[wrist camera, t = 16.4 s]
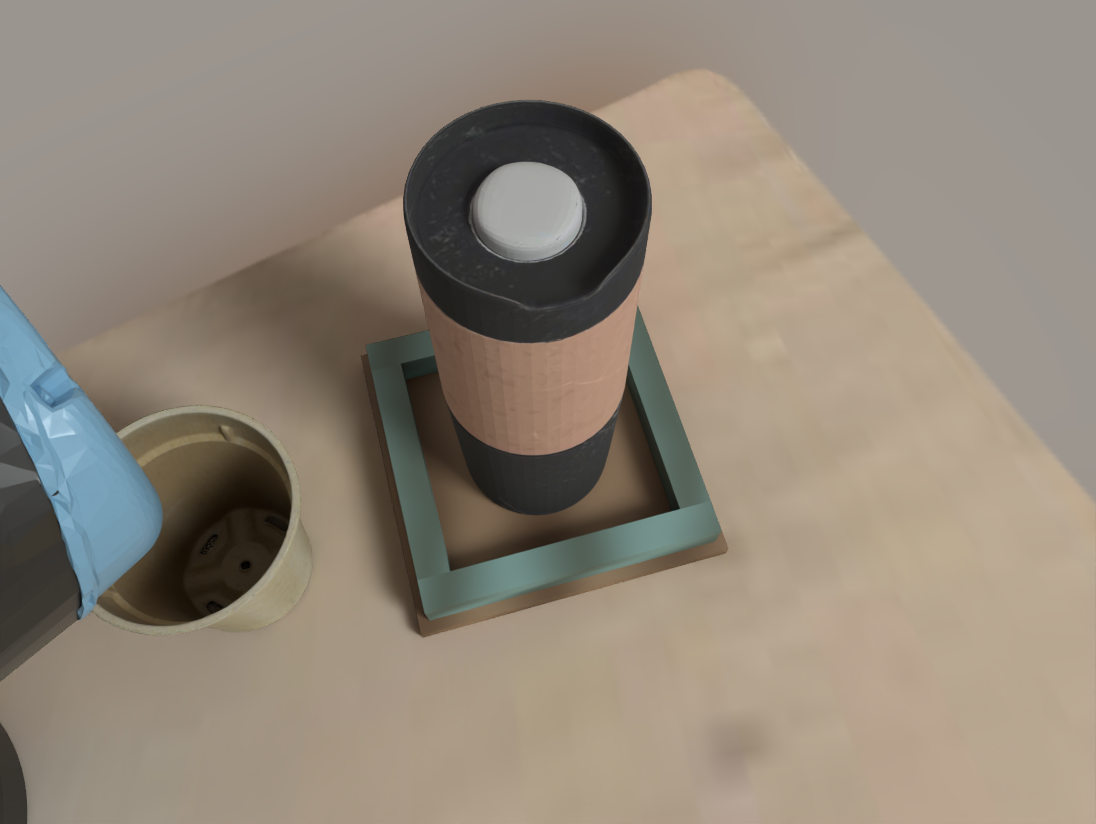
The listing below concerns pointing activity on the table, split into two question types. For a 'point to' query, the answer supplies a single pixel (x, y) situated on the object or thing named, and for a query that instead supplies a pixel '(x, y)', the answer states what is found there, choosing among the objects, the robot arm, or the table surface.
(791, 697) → the table surface
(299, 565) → the flower pot
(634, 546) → the coaster dock
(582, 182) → the travel mug
